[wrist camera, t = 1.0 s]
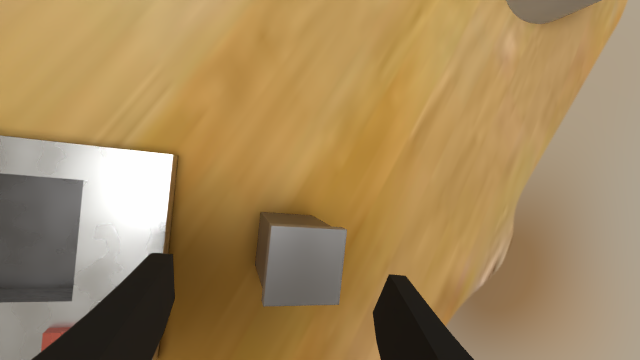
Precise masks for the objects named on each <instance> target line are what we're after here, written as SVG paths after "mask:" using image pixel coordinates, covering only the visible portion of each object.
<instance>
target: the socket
mask: <svg viewBox="0 0 640 360" xmlns="http://www.w3.org/2000/svg"><path fill="white" fill-rule="evenodd" d="M177 164H178V156H176V155H170V154H161V153H152V152H143V151H134V150H125V149H116V148H107V147H98V146H89V145H80V144H71V143H62V142H53V141H44V140H35V139H25V138H16V137H7V136H0V360H31V359H33V358H34V357H35V356H36V355H38V354H39V353H40V352H42V351H43V350H44V349H45V348H47V347H48V346H49V345H50V344H52V343H53V342H54V341H55V340H56V339H58V338H59V337H60V336H61V335H62V334H64V333H65V332H66V331H67V330H68V329H70V328H71V327H72V326H73V325H74V324H75V323H77V322H78V321H79V320H80V319H81V318H83V317H84V316H85V315H86V314H87V313H88V312H89V311H91V310H92V309H93V308H94V307H95V306H96V305H97V304H98V303H99V302H101V301H102V300H103V299H104V298H105V297H106V296H107V295H108V294H109V293H110V292H111V291H112V290H114V289H115V288H116V287H117V286H118V285H119V284H120V283H121V282H122V281H123V280H124V279H125V278H126V277H127V276H128V275H129V274H130V273H131V272H132V271H133V270H134V269H135V268H136V267H137V266H138V265H139V264H140V263H141V262H142V261H143V260H144V259H145V258H146V257H147V256H148V255H149V254H151V253H152V252H153V253H164V254H169V244H170V234H171V224H172V214H173V204H174V194H175V184H176V174H177ZM159 345H160V342H159V344H158V347H157V349H156V351H155V354H154V356H153V358H152V360H157V359H158V355H159Z"/></svg>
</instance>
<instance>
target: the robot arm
mask: <svg viewBox="0 0 640 360" xmlns="http://www.w3.org/2000/svg"><path fill="white" fill-rule="evenodd" d="M174 299H175V292H174V270H173V254H164V253H153V252H152V253H151V254H149V255H148V256H147V257H146V258H145V259H144V260H143V261H142V262H141V263H140V264H139V265H138V266H137V267H136V268H135V269H134V270H133V271H132V272H131V273H130V274H129V275H128V276H127V277H126V278H125V279H124V280H123V281H122V282H121V283H120V284H119V285H118V286H117V287H116V288H115V289H114V290H112V291H111V292H110V293H109V294H108V295H107V296H106V297H105V298H104V299H103V300H102V301H101V302H99V303H98V304H97V305H96V306H95V307H94V308H93V309H92V310H91V311H89V312H88V313H87V314H86V315H85V316H84V317H83V318H81V319H80V320H79V321H78V322H77V323H75V324H74V325H73V326H72V327H71V328H70V329H68V330H67V331H66V332H65V333H64V334H62V335H61V336H60V337H59V338H58V339H56V340H55V341H54V342H53V343H52V344H50V345H49V346H48V347H47V348H45V349H44V350H43V351H42V352H40V353H39V354H38V355H36V356H35V357H34V358H33V359H31V360H152V358H153V356H154V354H155V351H156V349H157V347H158V344H159V342H160V340H161V338H162V335H163V333H164V331H165V327H166V324H167V321H168V318H169V315H170V312H171V309H172V305H173V302H174ZM373 318H374V326H375V334H376V340H377V345H378V350H379V354H380V358H381V360H474V359H473V358H472V357H471V356H470V355H469V354H468V352H467V351H466V350H465V349H464V348H463V347H462V346H461V345H460V343H459V342H458V341H457V340H456V339H455V337H454V336H452V334H451V333H450V332H449V330H448V329H447V328H446V327H445V325H444V324H443V323H442V322H441V321H440V319H439V318H438V317H437V315H436V314H435V313H434V312H433V310H432V309H431V308H430V307H429V305H428V304H427V303H426V301H425V300H424V299H423V298H422V296H421V295H420V294H419V292H418V291H417V290H416V289H415V287H414V286H413V285H412V283H411V282H410V281H409V280H408V278H407V277H406V276H401V275H390V274H389V276H388V278H387V281H386V283H385V285H384V288H383V290H382V292H381V295H380V297H379V299H378V301H377V304H376V306H375V308H374V311H373Z"/></svg>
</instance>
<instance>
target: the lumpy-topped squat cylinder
mask: <svg viewBox="0 0 640 360" xmlns="http://www.w3.org/2000/svg"><path fill="white" fill-rule="evenodd" d="M506 1H507V4H508V5H509V7H510V9H511V10H512V11H513V13H514V14H515V15H516V16H517V17H519V18H520V19H522V20H524V21H527V22H530V23H535V24H544V23H548V22H552V21H555V20H557V19H560V18H562V17H564V16H567V15H569V14H571V13H573V12H576V11H578V10H580V9H583V8H585V7H587V6H589V5H592V4H594V3H596V2H599V1H601V0H506Z"/></svg>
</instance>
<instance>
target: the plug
mask: <svg viewBox="0 0 640 360" xmlns="http://www.w3.org/2000/svg"><path fill="white" fill-rule="evenodd" d="M346 233H347V230H346V229H344V228H342V227H332V226H330V225H328V224H326V223H324V222H323V221H321V220H319V219H317V218H316V217H314V216H312V215H298V214H283V213H268V212H261V213H260V223H259V232H258V242H257V252H256V261H255V266H256V269H257V272H258V275H259V278H260V281H261V285H262V288H263V292H262V303H263V306H300V305H339V299H340V290H341V280H342V271H343V262H344V252H345V243H346Z"/></svg>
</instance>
